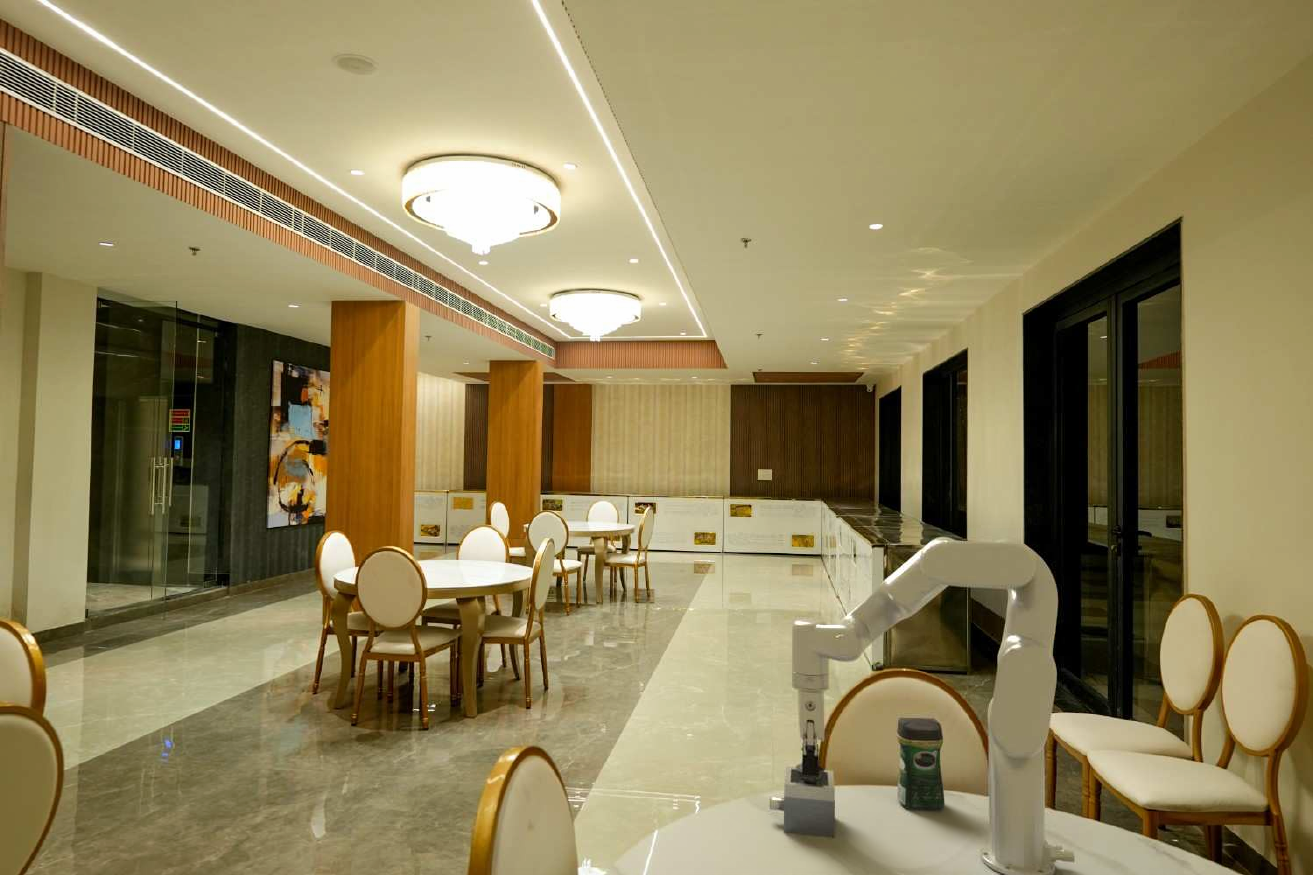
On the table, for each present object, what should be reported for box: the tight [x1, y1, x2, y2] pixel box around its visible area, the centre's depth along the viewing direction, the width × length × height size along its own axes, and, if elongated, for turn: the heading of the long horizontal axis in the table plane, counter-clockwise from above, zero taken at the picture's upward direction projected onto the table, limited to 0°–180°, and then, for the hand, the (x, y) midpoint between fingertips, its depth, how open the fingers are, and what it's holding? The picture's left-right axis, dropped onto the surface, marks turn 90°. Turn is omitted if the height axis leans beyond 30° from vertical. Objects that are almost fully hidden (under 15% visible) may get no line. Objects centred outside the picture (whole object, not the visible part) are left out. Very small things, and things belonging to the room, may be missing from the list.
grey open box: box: [769, 766, 836, 839], centre depth 161 cm, size 13×12×10 cm
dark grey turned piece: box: [795, 733, 826, 785], centre depth 160 cm, size 6×6×12 cm
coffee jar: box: [896, 717, 945, 811], centre depth 171 cm, size 10×8×19 cm
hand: (810, 768), depth 160 cm, fingers closed on dark grey turned piece, 5 cm apart
